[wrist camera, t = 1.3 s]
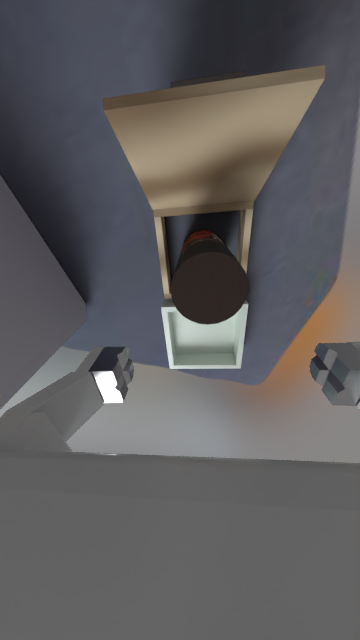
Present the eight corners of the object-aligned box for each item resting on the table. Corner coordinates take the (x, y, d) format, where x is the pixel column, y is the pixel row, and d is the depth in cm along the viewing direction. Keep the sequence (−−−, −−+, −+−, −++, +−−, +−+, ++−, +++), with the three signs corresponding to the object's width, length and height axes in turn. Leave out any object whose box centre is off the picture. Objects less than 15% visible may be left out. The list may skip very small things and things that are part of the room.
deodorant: (228, 235, 26) (262, 262, 13) (215, 276, 29) (232, 331, 16) (187, 224, 26) (179, 242, 13) (178, 267, 29) (164, 316, 16)
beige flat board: (152, 209, 22) (152, 197, 22) (254, 200, 21) (254, 187, 21) (103, 110, 10) (101, 82, 10) (324, 78, 9) (325, 46, 9)
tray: (164, 296, 31) (161, 307, 28) (242, 293, 30) (248, 304, 27) (172, 354, 38) (169, 368, 34) (236, 353, 36) (240, 368, 33)
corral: (157, 209, 25) (153, 209, 22) (247, 201, 24) (254, 200, 21) (167, 291, 31) (164, 298, 28) (239, 287, 30) (243, 295, 27)
